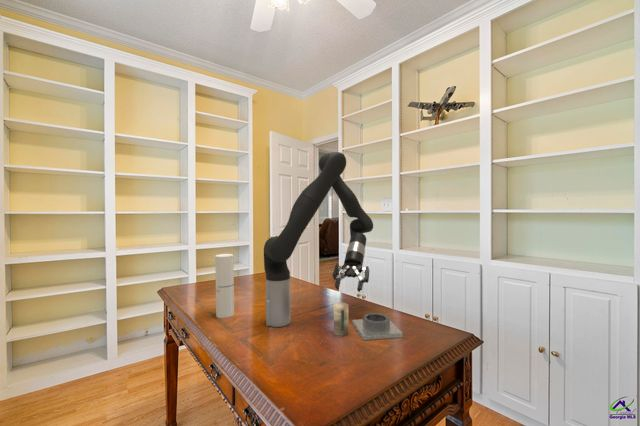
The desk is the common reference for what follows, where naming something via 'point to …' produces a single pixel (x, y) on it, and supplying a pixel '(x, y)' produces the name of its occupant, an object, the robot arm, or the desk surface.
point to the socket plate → (376, 327)
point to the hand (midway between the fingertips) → (347, 289)
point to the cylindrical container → (224, 285)
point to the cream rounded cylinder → (341, 319)
